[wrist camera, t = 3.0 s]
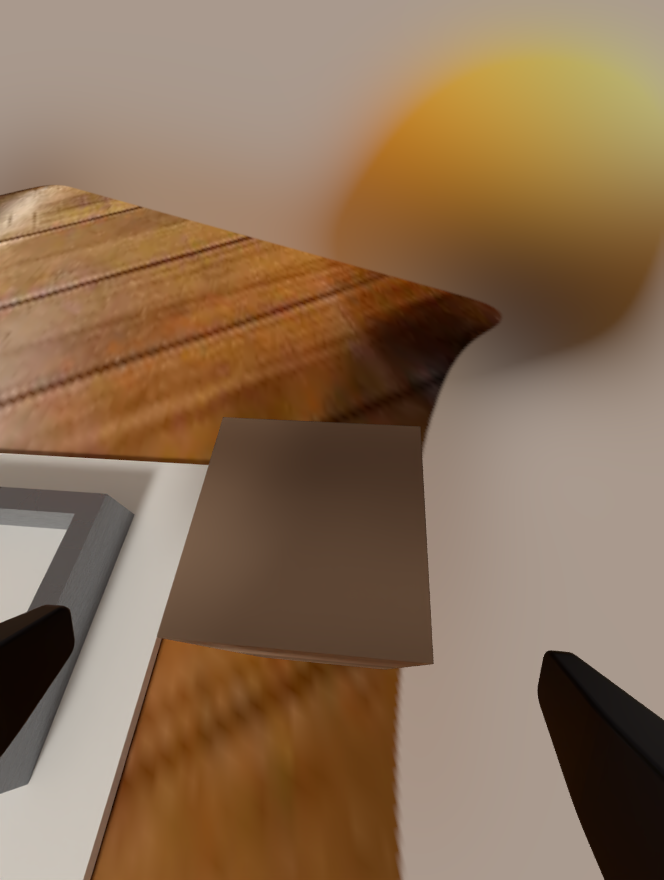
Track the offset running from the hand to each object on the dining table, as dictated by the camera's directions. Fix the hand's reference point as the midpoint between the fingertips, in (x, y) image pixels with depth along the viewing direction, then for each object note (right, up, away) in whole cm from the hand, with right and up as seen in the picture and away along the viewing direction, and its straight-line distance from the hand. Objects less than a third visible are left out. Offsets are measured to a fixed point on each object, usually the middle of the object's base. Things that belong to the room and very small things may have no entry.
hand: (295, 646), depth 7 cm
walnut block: (+1, -3, +9) cm, 10 cm away
